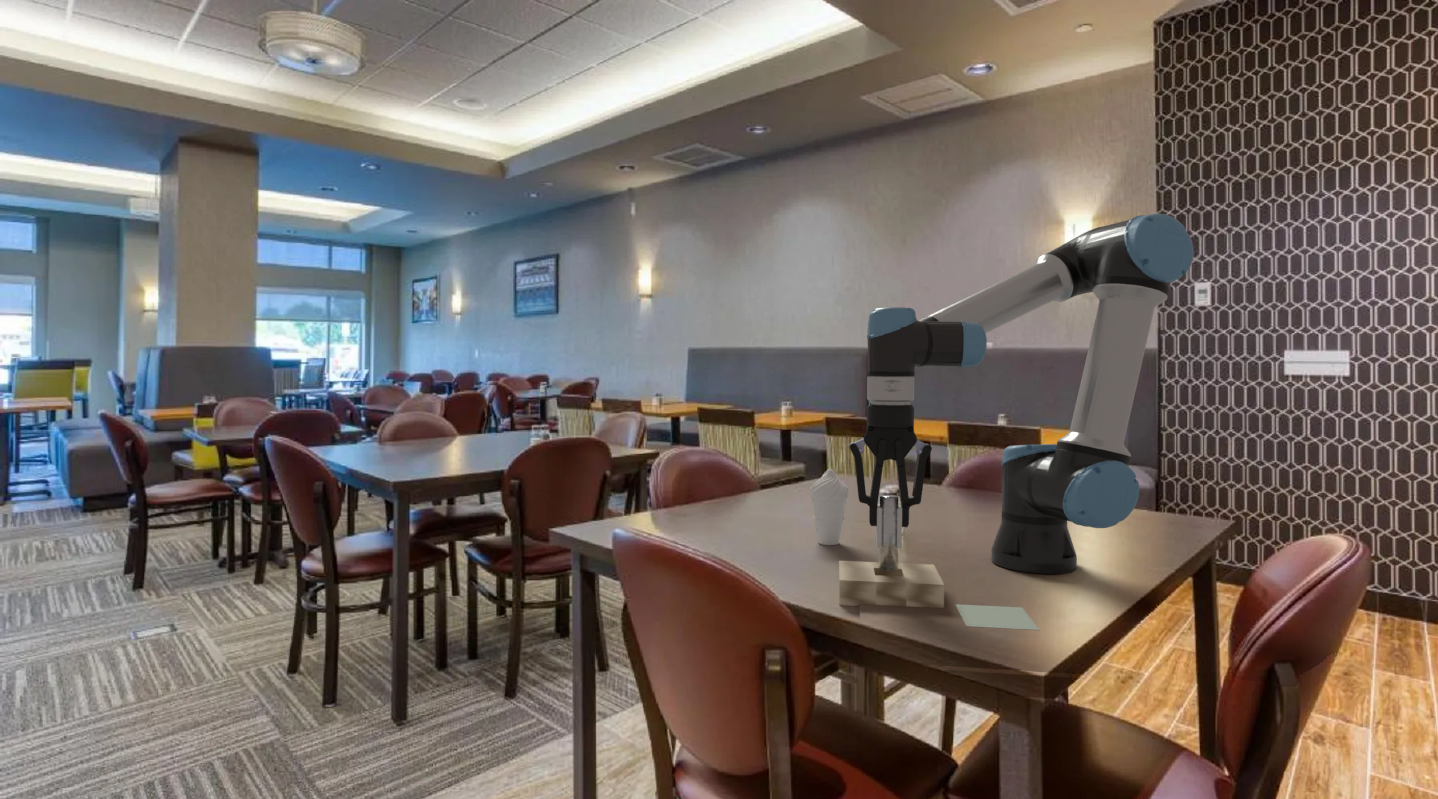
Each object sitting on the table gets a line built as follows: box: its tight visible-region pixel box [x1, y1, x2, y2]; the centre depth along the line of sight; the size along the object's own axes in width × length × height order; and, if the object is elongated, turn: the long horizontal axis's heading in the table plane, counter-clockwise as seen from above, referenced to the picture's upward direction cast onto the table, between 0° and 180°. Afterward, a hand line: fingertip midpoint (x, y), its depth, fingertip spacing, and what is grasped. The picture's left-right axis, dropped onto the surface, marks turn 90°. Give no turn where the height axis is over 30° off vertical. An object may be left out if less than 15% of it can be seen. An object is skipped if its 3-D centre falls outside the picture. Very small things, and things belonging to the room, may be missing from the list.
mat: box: [954, 603, 1040, 631], centre depth 111 cm, size 10×10×1 cm
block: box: [838, 560, 945, 609], centre depth 122 cm, size 16×12×4 cm
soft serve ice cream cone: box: [808, 468, 849, 546], centre depth 159 cm, size 8×8×16 cm
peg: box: [878, 494, 899, 572], centre depth 121 cm, size 3×3×12 cm
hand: (888, 545), depth 122 cm, fingers closed on peg, 2 cm apart
